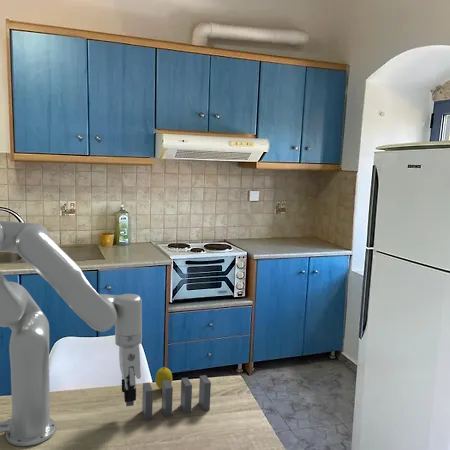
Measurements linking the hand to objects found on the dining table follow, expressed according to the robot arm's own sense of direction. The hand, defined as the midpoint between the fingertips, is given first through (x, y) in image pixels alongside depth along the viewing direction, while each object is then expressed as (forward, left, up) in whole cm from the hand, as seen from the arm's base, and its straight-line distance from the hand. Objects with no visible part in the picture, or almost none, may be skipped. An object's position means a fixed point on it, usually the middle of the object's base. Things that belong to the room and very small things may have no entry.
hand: (128, 395), depth 134 cm
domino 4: (+18, 0, -7) cm, 19 cm away
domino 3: (+12, 0, -7) cm, 14 cm away
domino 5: (+24, 0, -7) cm, 25 cm away
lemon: (+14, +13, -7) cm, 20 cm away
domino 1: (0, 0, -2) cm, 2 cm away
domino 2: (+6, 0, -7) cm, 9 cm away
